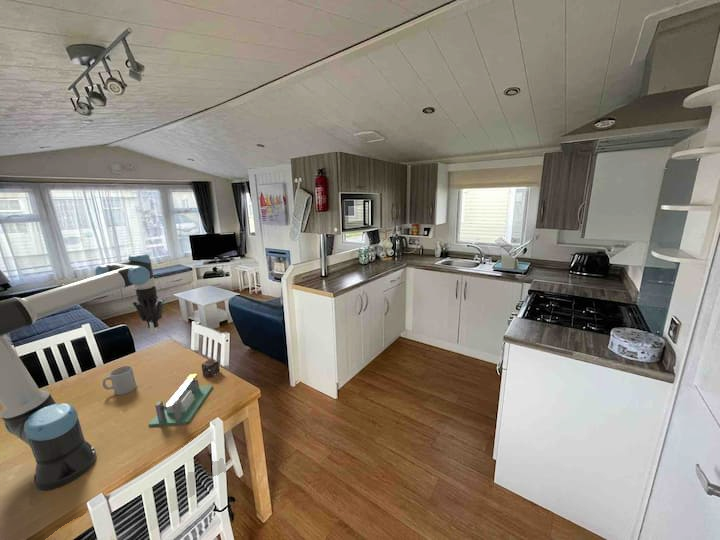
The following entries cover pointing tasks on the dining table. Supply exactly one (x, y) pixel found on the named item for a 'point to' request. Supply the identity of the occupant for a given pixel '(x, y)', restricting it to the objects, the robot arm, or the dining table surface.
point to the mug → (121, 380)
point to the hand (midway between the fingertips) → (154, 333)
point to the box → (210, 368)
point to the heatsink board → (185, 414)
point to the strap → (179, 392)
